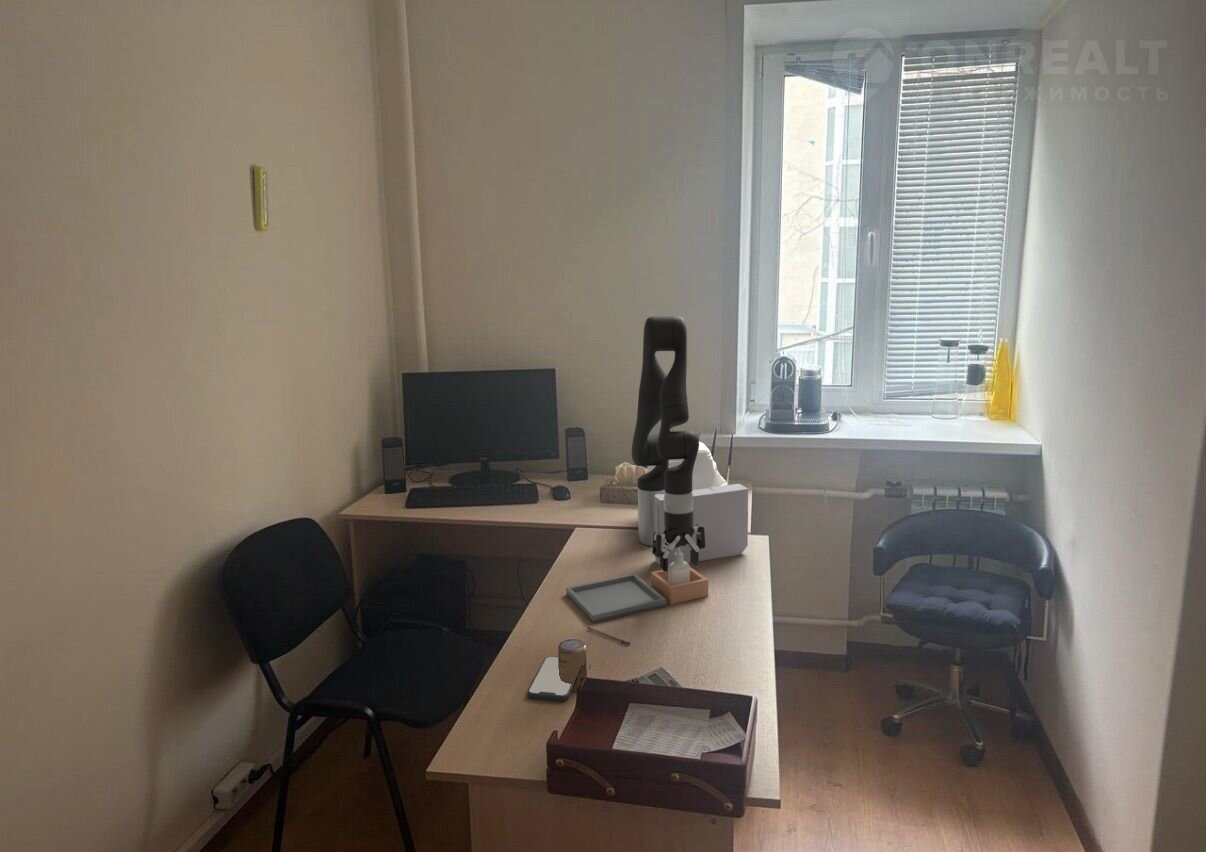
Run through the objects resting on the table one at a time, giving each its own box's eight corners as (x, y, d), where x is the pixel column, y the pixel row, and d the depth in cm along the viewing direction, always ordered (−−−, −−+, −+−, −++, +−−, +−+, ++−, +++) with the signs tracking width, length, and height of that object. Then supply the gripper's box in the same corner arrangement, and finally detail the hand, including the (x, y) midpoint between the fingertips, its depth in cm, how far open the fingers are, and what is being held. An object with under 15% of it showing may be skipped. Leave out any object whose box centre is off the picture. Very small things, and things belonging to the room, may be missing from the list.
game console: (653, 560, 229) (652, 494, 225) (738, 547, 237) (738, 483, 233) (660, 567, 224) (659, 500, 219) (747, 554, 232) (748, 488, 227)
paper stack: (648, 511, 271) (646, 438, 266) (727, 510, 269) (728, 437, 263) (646, 533, 251) (645, 454, 245) (733, 532, 249) (733, 453, 243)
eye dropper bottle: (689, 595, 205) (689, 552, 202) (668, 595, 206) (667, 551, 203) (690, 588, 209) (689, 545, 207) (668, 588, 210) (668, 545, 207)
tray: (566, 594, 208) (566, 587, 208) (635, 580, 216) (634, 573, 215) (593, 623, 192) (592, 615, 191) (666, 606, 200) (666, 599, 199)
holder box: (650, 588, 210) (650, 572, 209) (687, 580, 215) (687, 564, 214) (670, 604, 201) (670, 587, 200) (708, 595, 205) (708, 579, 204)
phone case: (545, 662, 176) (525, 700, 161) (545, 655, 176) (525, 693, 160) (584, 665, 174) (568, 704, 159) (584, 658, 174) (567, 696, 159)
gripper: (695, 499, 209) (695, 557, 212) (647, 508, 203) (648, 567, 207) (710, 507, 202) (710, 567, 205) (660, 516, 196) (661, 577, 200)
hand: (679, 567), depth 206 cm, fingers open, 8 cm apart
